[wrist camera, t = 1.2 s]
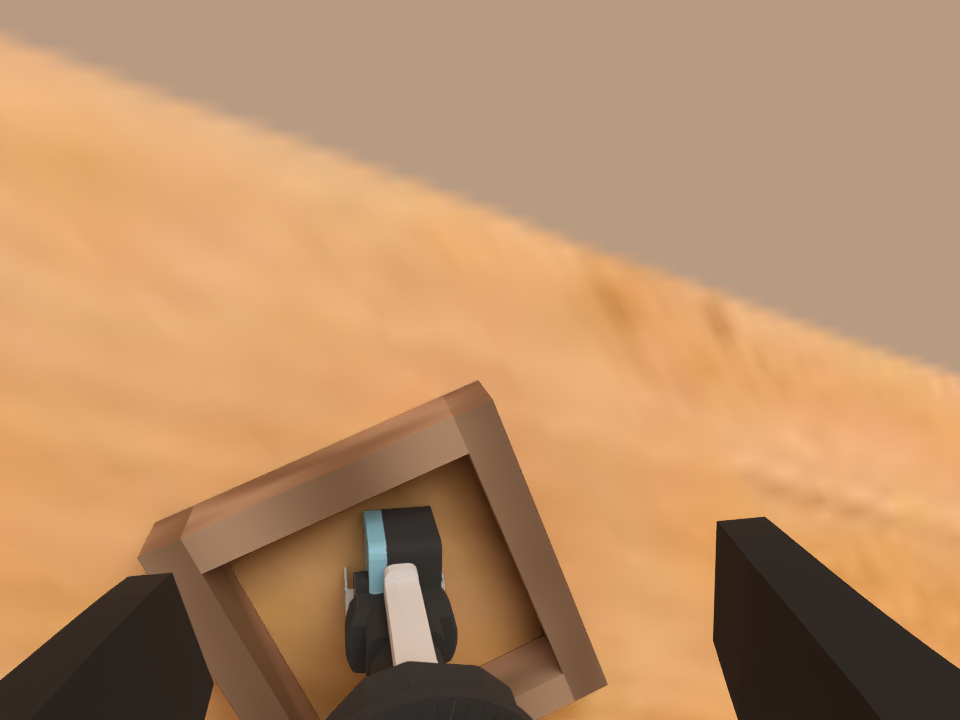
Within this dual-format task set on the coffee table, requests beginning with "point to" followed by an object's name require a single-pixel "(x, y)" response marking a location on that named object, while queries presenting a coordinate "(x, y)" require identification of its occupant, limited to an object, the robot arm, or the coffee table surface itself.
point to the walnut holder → (335, 487)
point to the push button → (410, 632)
